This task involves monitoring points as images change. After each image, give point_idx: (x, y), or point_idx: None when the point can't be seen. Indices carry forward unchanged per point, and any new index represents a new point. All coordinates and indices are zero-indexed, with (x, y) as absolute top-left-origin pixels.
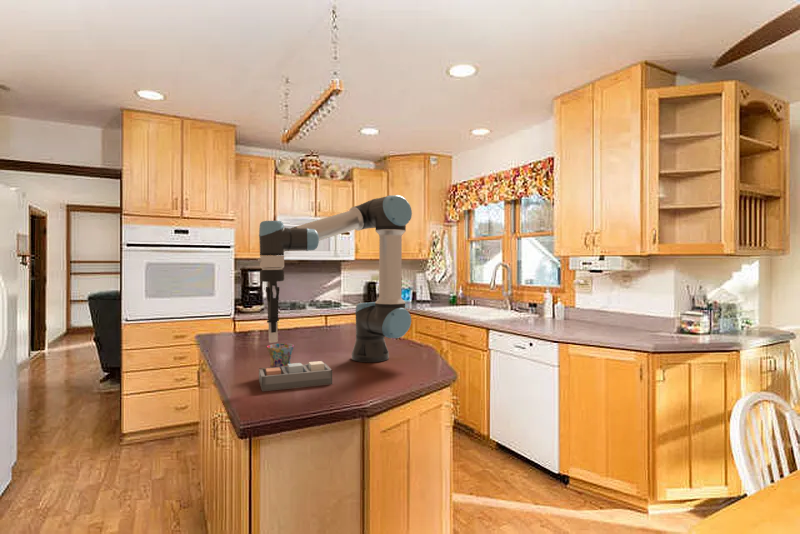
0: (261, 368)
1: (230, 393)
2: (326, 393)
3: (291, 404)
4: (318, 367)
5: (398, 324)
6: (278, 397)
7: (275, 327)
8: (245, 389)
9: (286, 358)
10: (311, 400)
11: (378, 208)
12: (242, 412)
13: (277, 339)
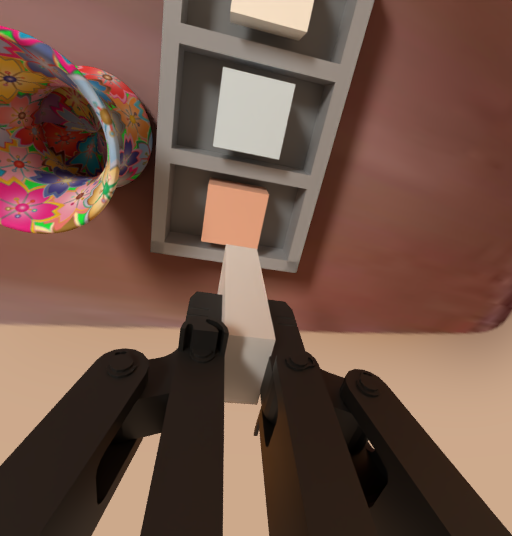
0: (157, 244)
1: None
2: (460, 61)
3: (464, 214)
4: None
5: None
6: (378, 226)
7: (297, 331)
8: None
9: (112, 118)
10: (482, 148)
11: None
12: (424, 324)
13: (258, 259)
